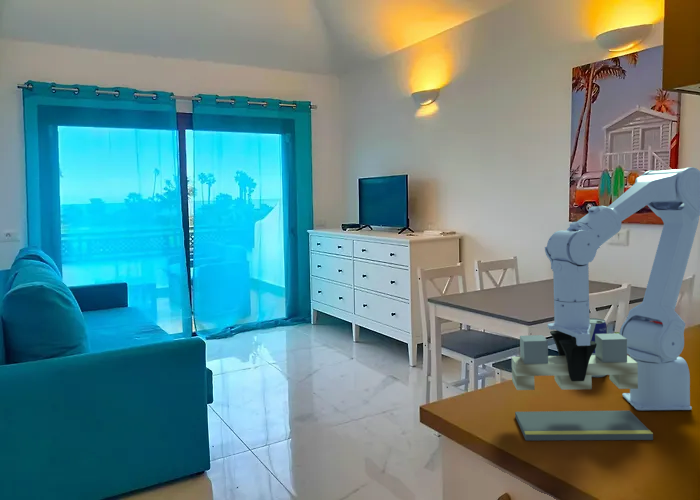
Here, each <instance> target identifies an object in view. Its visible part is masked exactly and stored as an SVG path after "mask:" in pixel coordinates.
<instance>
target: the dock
mask: <svg viewBox="0 0 700 500" xmlns="http://www.w3.org/2000/svg"><path fill="white" fill-rule="evenodd" d="M514 413H515V415H514V416H515V420H516V422H517V424H518V426H519V428H520V430H521V433H522V435H523V437H524V440H525V441H641V440H642V441H653V440H654V433H653V432H652V431H651V430H650V429H649V428H648V427H647V426H646V425H645V424H644V423H643V422H642V421H641V420H640V419H639V418H638V417H637V416H636V415H635V414H634V413H633V412H632V411H631V410H562V411H561V410H560V411H559V410H558V411H554V410H553V411H552V410H551V411H550V410H549V411H548V410H547V411H544V410H543V411H540V410H539V411H515V412H514Z"/></svg>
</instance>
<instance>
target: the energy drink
mask: <svg viewBox="0 0 700 500" xmlns="http://www.w3.org/2000/svg"><path fill="white" fill-rule="evenodd" d="M589 318H590V324H591V330H590V333H589V334H590V341H594V342H595V334H608V326H607V322H606V320H605V319H602V318H598V317H597V318H595V317H589ZM592 355H595V350H594V351H593V353H592ZM606 376H607V375H592V378H603V377H606Z"/></svg>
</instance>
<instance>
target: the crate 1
mask: <svg viewBox="0 0 700 500" xmlns="http://www.w3.org/2000/svg"><path fill="white" fill-rule="evenodd" d="M548 342H549V341H548V340H547V338H546V337H545V336H544V335H543V334H538V335H536V334H535V335H534V334H533V335H531V334H530V335H519V349H520V350H519V353H520V354H519V355H520V356H519V357H521V359H522V361H523V362H524V364H547V363H548V356H549V343H548Z"/></svg>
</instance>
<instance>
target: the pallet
mask: <svg viewBox="0 0 700 500" xmlns="http://www.w3.org/2000/svg"><path fill="white" fill-rule="evenodd" d="M592 375H606V376H609V381H611V382H612V384H614V385H615V386H616V387H617V388H618V389H619V390H624V389H625V390H628V389H629V390H630V389H638V363H637V362H636V361H635V360H633V359H632V358H631V357H629V356H628V355H627V362H604V363H603V362H602V361H600V360H599V359H598V358H597V357H596V356H595V355H591V357H590V360H589V363H588V367H587V372H586V376H585V379H584V381H571V379H570V376H569V371H568V365H567V360H566V356H559V355H548V363H547V364H524V362H523V361H522V359H521V357H520V356H511V381H512V384H513V385H514V387H515V389H516V391H535V377H539V376H542V377H546V376H547V377H549V376H550V377H551V376H554V381H555V383H556V384H557V386H558V387H559V388H560V390H565V391H566V390H592V389H593V388H592V387H593V385H592V384H593V383H592V378H593V377H592Z"/></svg>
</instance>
